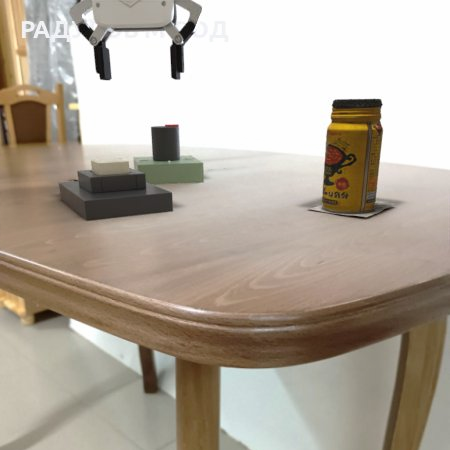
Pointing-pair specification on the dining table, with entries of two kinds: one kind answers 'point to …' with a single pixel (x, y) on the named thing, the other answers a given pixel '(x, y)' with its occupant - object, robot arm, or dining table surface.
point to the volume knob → (165, 143)
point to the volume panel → (170, 170)
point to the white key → (110, 166)
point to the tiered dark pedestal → (114, 195)
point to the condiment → (353, 158)
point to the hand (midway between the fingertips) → (140, 79)
